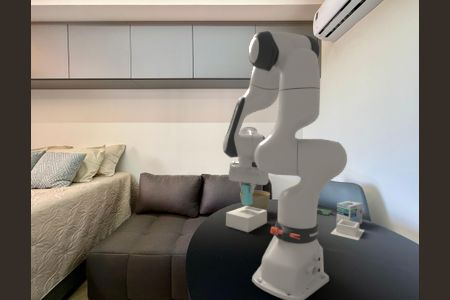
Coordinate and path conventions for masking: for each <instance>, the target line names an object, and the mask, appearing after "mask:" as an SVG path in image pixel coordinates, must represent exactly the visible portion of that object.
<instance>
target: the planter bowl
mask: <svg viewBox="0 0 450 300" xmlns="http://www.w3.org/2000/svg"><path fill="white" fill-rule="evenodd" d="M239 196H240V202H241V205H242V207H244V206H247V205H243V204H242V192H241V191H240V193H239ZM270 197H271V194H270V192H268V191H264V190H255V189H254V193H253V198H252V204H251V205H248V206H249V207H254V208H258V209H263V210H267V207H268V206H269V203H270Z"/></svg>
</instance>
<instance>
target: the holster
mask: <svg viewBox="0 0 450 300" xmlns="http://www.w3.org/2000/svg"><path fill="white" fill-rule="evenodd" d="M364 232H365V229H361V228H360V224H359V223H358V222H353V221H348V220H343V219H341V220H340V221H339V222H338V223H337V222H336V227H335V228H334V229H333V230H332V231H331V232H330V234H331V235H335V236H339V237H343V238H347V239H352V240H354V241H359V240H360V238H361V237H362V236H363V233H364Z"/></svg>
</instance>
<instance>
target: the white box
mask: <svg viewBox="0 0 450 300" xmlns="http://www.w3.org/2000/svg"><path fill="white" fill-rule="evenodd" d="M267 220H268V210H267V209H265V210H263V209H258V208H254V207H249V206H244V207H243V206H242V207H239V208H236V209H233V210H229V211H226V212H225V226H226V227H229V228H232V229H235V230H239V231H242V232H245V233H249V232H252V231H253V230H255V229H257V228H260V227H262V226H263V225H265V224H267V223H268V221H267Z"/></svg>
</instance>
